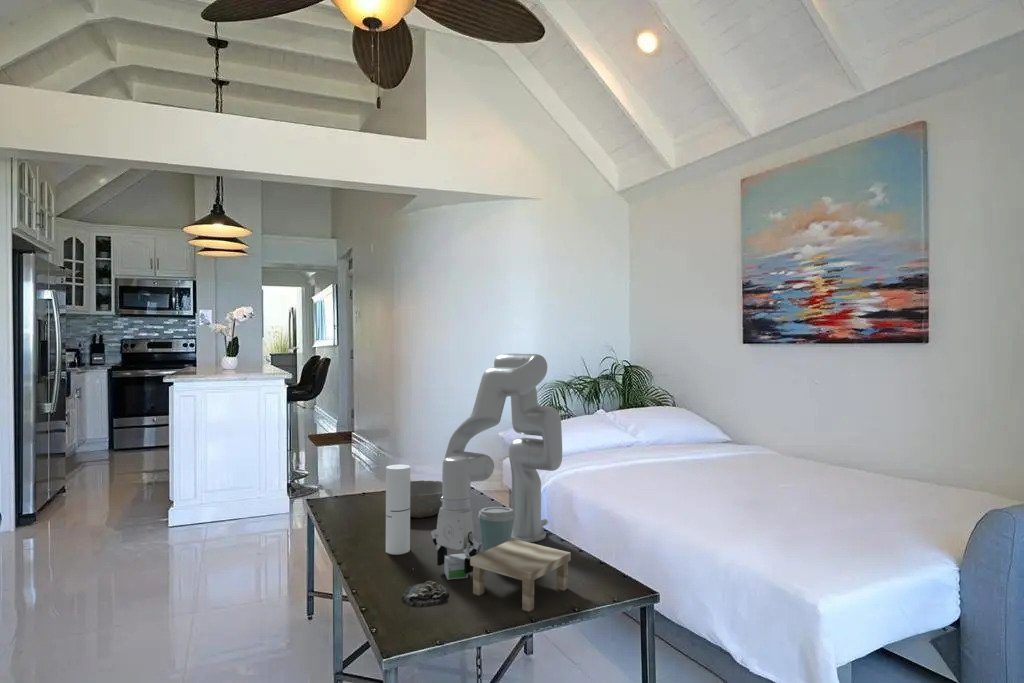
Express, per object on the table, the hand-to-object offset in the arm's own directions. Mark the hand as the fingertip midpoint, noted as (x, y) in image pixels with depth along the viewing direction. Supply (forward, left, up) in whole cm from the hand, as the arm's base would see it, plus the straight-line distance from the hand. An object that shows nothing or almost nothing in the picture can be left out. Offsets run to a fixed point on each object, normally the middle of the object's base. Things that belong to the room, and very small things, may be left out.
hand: (455, 568), depth 161 cm
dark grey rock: (+15, +3, -3) cm, 15 cm away
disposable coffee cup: (-15, +2, -2) cm, 16 cm away
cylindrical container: (-4, -27, -2) cm, 27 cm away
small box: (0, 0, -2) cm, 2 cm away
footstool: (-2, +20, -2) cm, 20 cm away
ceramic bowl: (-36, -49, -2) cm, 61 cm away
